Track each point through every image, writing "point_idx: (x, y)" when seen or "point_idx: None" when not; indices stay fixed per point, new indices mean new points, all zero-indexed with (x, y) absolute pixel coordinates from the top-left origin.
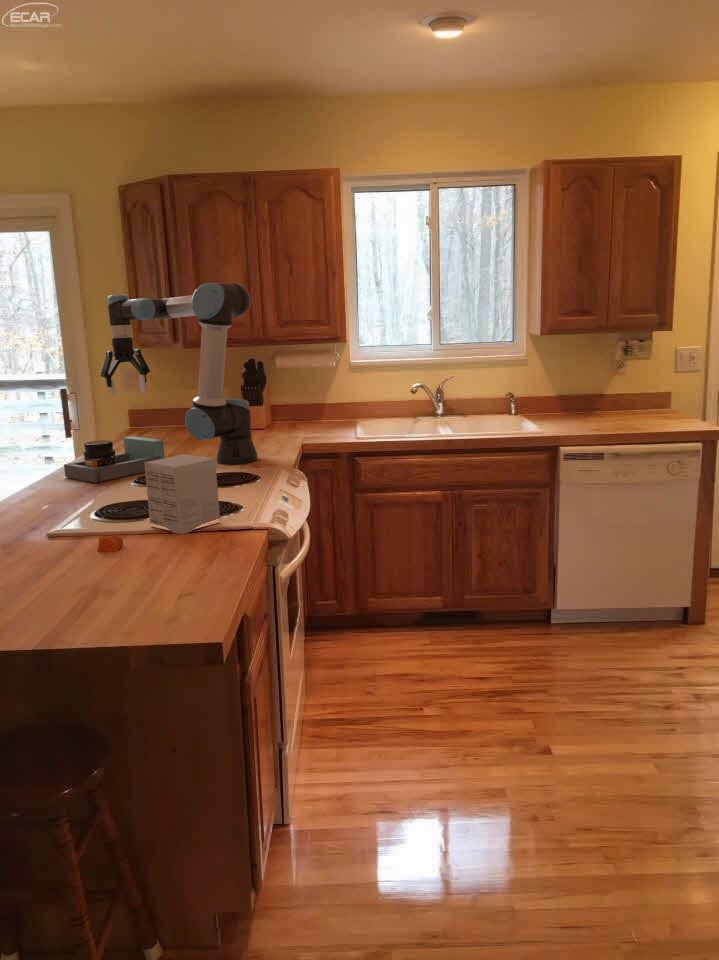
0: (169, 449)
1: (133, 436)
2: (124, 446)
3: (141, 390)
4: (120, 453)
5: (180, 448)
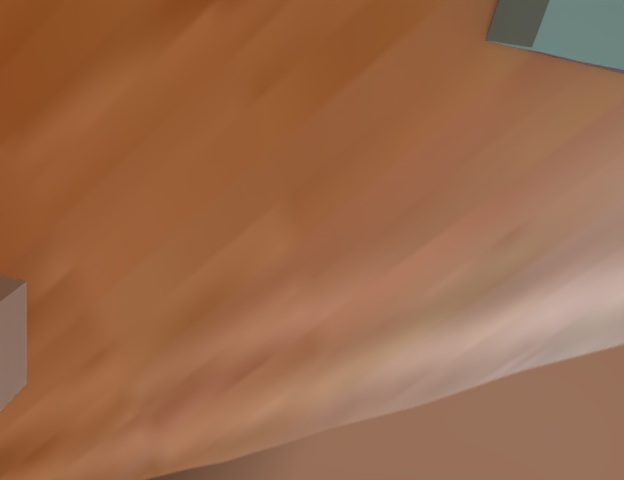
0: (59, 145)
1: (540, 32)
2: (596, 64)
3: (10, 370)
4: (618, 69)
5: (7, 99)
